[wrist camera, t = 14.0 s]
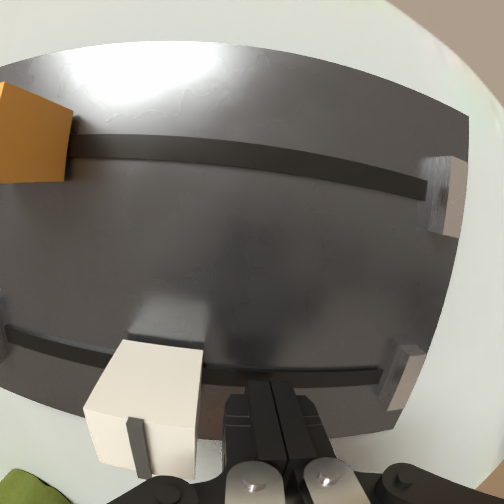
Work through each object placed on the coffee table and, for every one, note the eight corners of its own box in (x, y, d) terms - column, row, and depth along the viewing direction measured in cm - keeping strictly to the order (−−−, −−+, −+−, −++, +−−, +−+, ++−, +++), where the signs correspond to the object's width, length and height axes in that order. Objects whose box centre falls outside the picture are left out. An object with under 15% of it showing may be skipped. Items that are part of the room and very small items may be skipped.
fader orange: (73, 109, 8) (-1, 77, 4) (63, 182, 8) (-20, 186, 4) (15, 116, 8) (-59, 98, 4) (6, 182, 8) (-72, 188, 4)
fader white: (202, 348, 10) (193, 434, 6) (200, 402, 11) (194, 486, 7) (122, 338, 10) (79, 412, 6) (128, 391, 10) (98, 468, 6)
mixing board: (442, 121, 11) (483, 113, 8) (379, 407, 15) (400, 440, 12) (7, 81, 9) (-27, 67, 6) (11, 367, 12) (-13, 393, 9)
